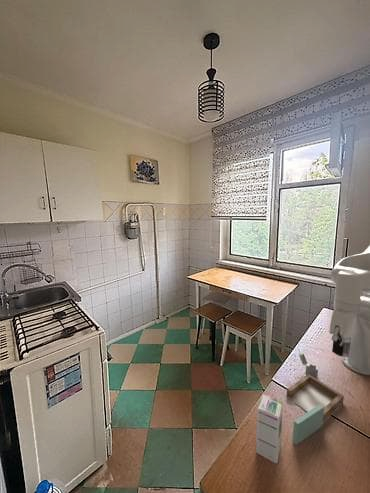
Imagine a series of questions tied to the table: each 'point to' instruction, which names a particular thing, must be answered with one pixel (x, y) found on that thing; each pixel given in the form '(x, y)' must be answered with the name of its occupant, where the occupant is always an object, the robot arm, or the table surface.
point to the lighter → (309, 367)
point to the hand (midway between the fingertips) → (340, 351)
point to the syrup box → (269, 428)
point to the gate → (308, 424)
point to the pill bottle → (345, 346)
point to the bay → (315, 395)
